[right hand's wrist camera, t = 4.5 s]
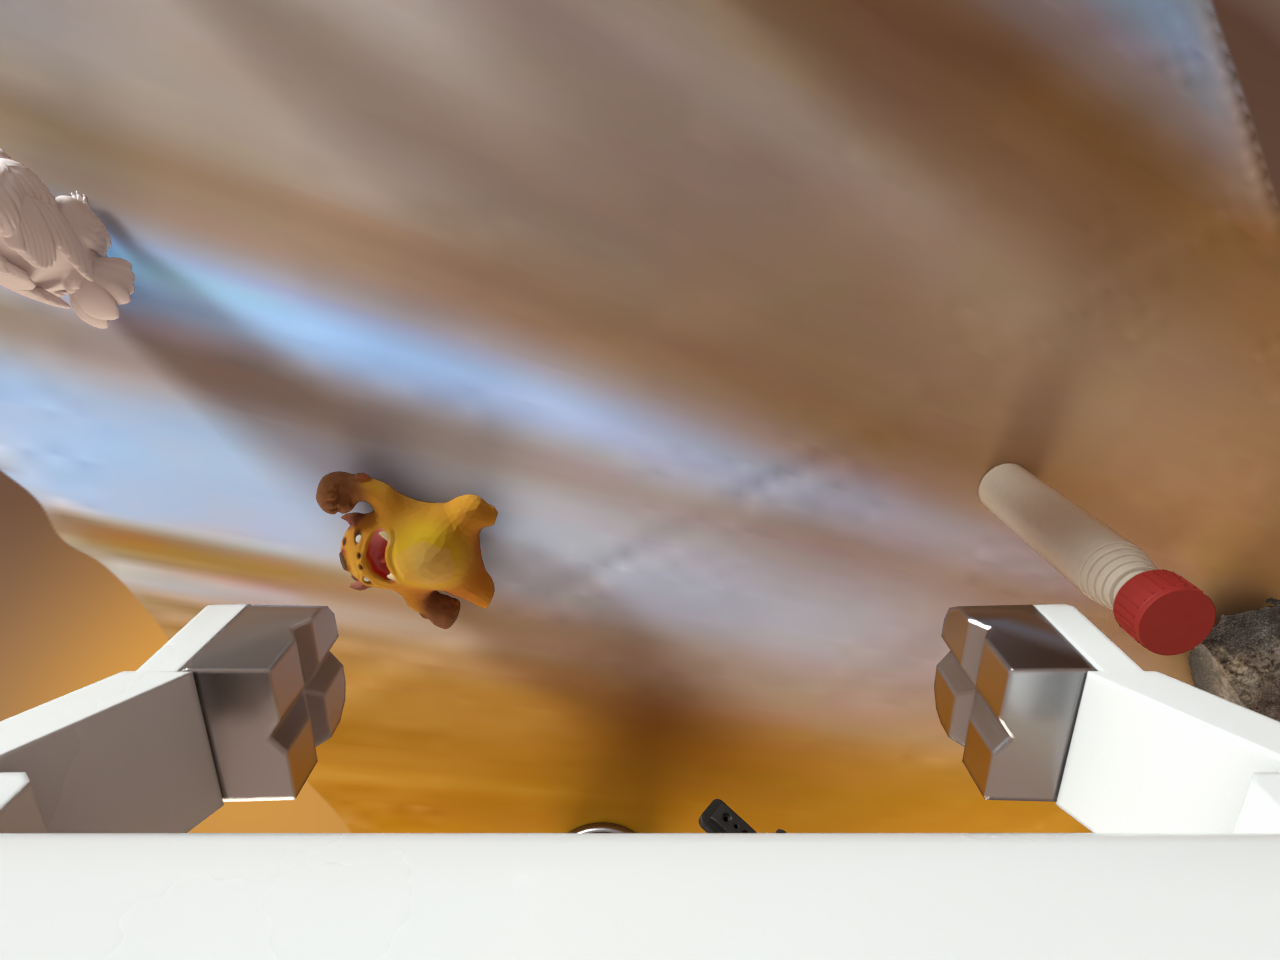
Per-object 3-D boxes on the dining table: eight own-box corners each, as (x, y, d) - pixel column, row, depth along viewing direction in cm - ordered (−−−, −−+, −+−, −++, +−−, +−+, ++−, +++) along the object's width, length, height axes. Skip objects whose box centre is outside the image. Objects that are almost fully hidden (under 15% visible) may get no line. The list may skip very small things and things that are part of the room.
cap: (1181, 557, 43) (1212, 578, 40) (1191, 619, 44) (1221, 642, 42) (1105, 582, 43) (1131, 603, 41) (1118, 642, 44) (1144, 666, 42)
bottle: (1025, 455, 60) (1206, 574, 41) (1036, 501, 61) (1216, 637, 42) (972, 473, 60) (1127, 600, 41) (984, 519, 62) (1139, 661, 43)
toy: (474, 647, 61) (288, 589, 59) (493, 588, 66) (323, 532, 64) (507, 560, 54) (298, 491, 52) (527, 501, 59) (336, 435, 57)
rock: (1171, 613, 64) (1229, 657, 58) (1275, 571, 63) (1345, 611, 57) (1206, 729, 68) (1264, 781, 62) (1304, 691, 67) (1372, 741, 61)
